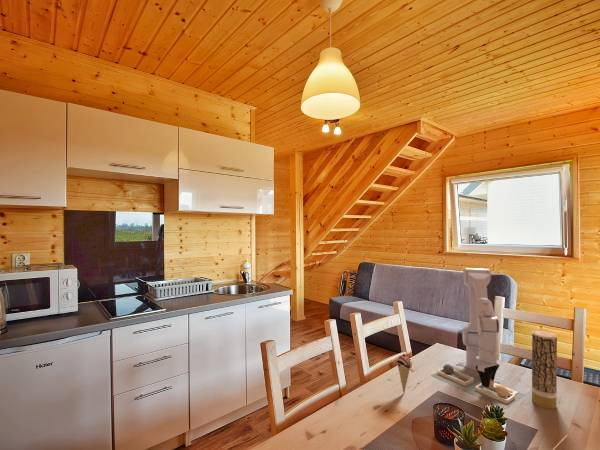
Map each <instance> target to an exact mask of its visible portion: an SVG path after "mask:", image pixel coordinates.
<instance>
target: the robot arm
mask: <svg viewBox="0 0 600 450" xmlns="http://www.w3.org/2000/svg"><path fill="white" fill-rule="evenodd" d="M491 277H492V275H491V271H490V269H489V268H480V267H479V268H476V267H474V268H473V267H464V268H463V272H462V280H463V281H462V282H463V285H464V286H466V287H467V289H468V299H469V301H468V303H469V323H468V324H466V325H465V326H463V328H462V335H461V336H462V339H461V340H462V344H463V345H464V347H465V346H466V347H465V348H466V349H465V350H466V353H465V355H466V357H465V359H466V361H465V363H463V364H461V366H463V367H465V368H468V369H471V370H473V371H476V372H477V373H478V376H480V379H481V383H482V386H484V387H487V388H488V387H489V385H490V379H491V380H492V381H493V382H495V378H496V374H497V371H498V369H499V367H500V364H498V355H497V353H498V352H497V351H498V347H497V345H498V344H497V343H498V341H497V339H498V338H497V337H498V335H497V334H498V333H499V332H500V323H499V322H500V321H499V318H498V317H497V315H496V314H495V312H494V311H495V310H494V305H493V303H492V300H490V299H488V297H489V296H488V288H487V287H488V285H489V284H490V282H491V279H492V278H491Z"/></svg>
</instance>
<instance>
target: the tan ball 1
mask: <svg viewBox="0 0 600 450" xmlns="http://www.w3.org/2000/svg"><path fill="white" fill-rule="evenodd" d="M493 386H494V383H493V381H492V380H491V379H490V385H489V387H488V388H487V387H484V386H483V387H484V388H486V389H492V388H493Z"/></svg>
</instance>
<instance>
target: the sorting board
mask: <svg viewBox="0 0 600 450" xmlns="http://www.w3.org/2000/svg"><path fill="white" fill-rule="evenodd" d="M451 366H452V367H453V369H454V372H453V374H451V375H448V374H446V373H445V372H444V371H443V367H442V368H439V369H437V372H435V373H433V374H431V375H430V376H431V377H433V378H435V379H437V380H440V381H441V382H444V383H447V384H448V385H451V386H453V387H455V388H457V389H460V390H462V391H464V392H467V393H469V394H471V395H473V396H475V397H477V398H479V399H482V400H484V401H486V402H489V403H491V404H493V405H495V406H497V405H498V406H497V407H499V406H501V407H500V408H502V409H504V410H506V409H507V408H509V407H511V406H512V405H513V404H515V403H516V402H517V401H519V400H521V398H523V397H524V396H525V395H526V394H525V393H522V392H520V391H517V390H515V389H512V388H510V387H507V386H504V385H502V384H499V383H497V382H495V381H494V382H493V383H494V386H493V388H492V389H486V388H484V387H483V386H482V383H481V379H480V376H479V375H477V374H474V373H473V372H472V373H471V372H469V371H467V370H465V369H461V368H459V367H457V366H454V365H451ZM500 385H501V386H504V387H506V388H507V390H508V392H509V395H508V396H507V397H506V398H502V397H499V396H498V395H497V393H496V387H497V386H500Z"/></svg>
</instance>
